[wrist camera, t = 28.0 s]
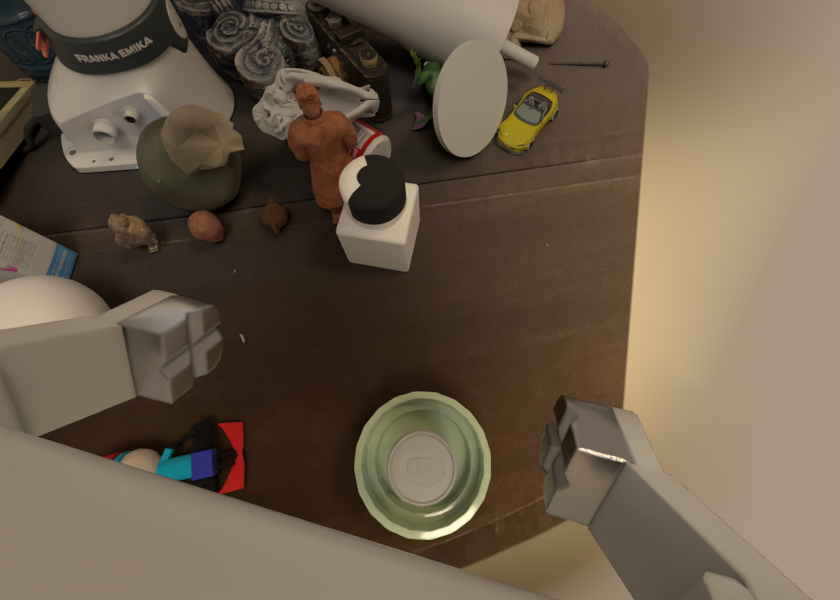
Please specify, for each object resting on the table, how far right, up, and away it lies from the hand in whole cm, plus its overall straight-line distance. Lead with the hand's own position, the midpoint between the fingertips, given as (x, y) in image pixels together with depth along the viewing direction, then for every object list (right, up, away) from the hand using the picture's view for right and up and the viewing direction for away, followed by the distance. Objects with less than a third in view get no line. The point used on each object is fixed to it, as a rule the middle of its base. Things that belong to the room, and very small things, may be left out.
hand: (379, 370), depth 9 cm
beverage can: (+1, -13, +28) cm, 31 cm away
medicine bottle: (-3, +9, +37) cm, 38 cm away
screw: (+23, +34, +45) cm, 61 cm away
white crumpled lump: (-14, +20, +28) cm, 38 cm away
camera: (-9, +31, +44) cm, 55 cm away
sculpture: (-31, +54, +49) cm, 79 cm away
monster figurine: (+7, +24, +35) cm, 43 cm away
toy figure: (-23, -15, +28) cm, 40 cm away
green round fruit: (-28, +15, +30) cm, 44 cm away
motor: (-1, +38, +42) cm, 56 cm away
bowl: (+1, -14, +28) cm, 31 cm away
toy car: (+15, +25, +41) cm, 51 cm away
